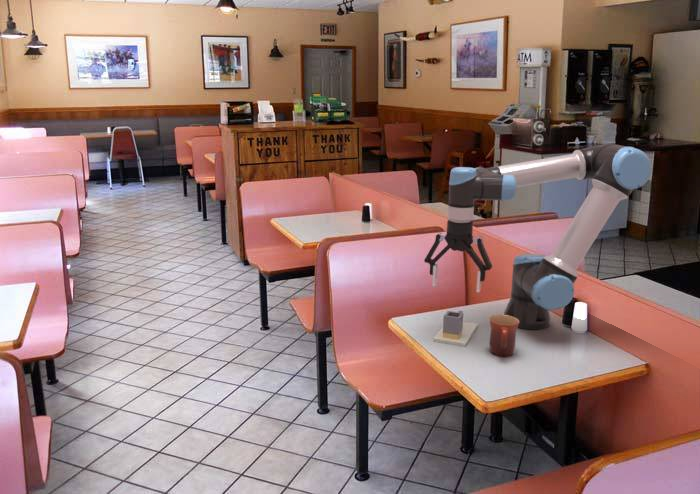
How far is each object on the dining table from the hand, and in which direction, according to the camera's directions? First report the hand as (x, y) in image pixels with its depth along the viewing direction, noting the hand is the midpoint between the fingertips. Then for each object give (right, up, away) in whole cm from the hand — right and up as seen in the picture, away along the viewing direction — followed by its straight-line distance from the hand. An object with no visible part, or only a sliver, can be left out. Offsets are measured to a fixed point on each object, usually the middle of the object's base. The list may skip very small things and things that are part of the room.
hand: (456, 288), depth 194 cm
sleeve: (-1, -15, +4) cm, 16 cm away
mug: (+12, -19, -7) cm, 24 cm away
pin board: (+1, -15, +8) cm, 17 cm away
